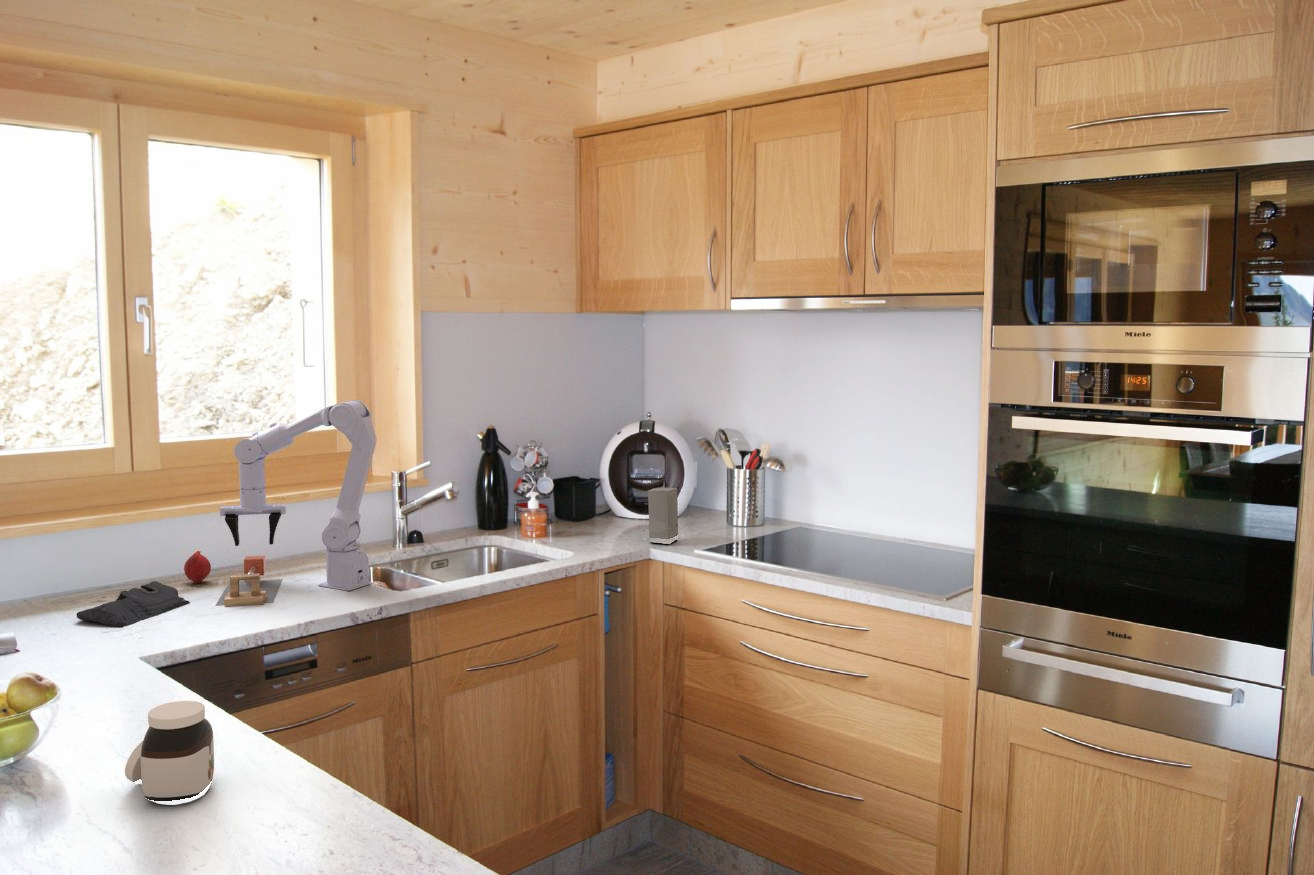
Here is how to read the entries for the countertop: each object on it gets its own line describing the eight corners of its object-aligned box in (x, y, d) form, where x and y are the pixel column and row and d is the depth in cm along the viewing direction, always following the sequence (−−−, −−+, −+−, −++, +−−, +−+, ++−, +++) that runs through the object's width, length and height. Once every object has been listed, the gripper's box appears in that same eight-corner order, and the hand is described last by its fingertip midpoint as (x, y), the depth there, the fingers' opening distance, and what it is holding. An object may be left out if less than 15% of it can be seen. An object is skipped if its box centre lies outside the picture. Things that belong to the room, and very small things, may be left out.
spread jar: (195, 811, 134) (192, 723, 133) (104, 813, 133) (100, 725, 132) (226, 771, 146) (224, 690, 145) (143, 773, 145) (139, 692, 144)
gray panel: (273, 603, 232) (273, 602, 232) (215, 606, 229) (215, 605, 229) (282, 579, 253) (282, 578, 253) (229, 582, 250) (229, 581, 250)
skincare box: (669, 546, 297) (670, 491, 296) (646, 543, 300) (646, 489, 298) (679, 540, 305) (680, 487, 304) (656, 538, 308) (657, 485, 306)
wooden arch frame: (263, 604, 230) (262, 577, 230) (224, 606, 228) (223, 579, 228) (266, 597, 236) (265, 571, 235) (228, 599, 234) (227, 573, 233)
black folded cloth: (62, 624, 215) (61, 602, 215) (140, 598, 236) (139, 577, 236) (125, 631, 212) (124, 608, 211) (198, 603, 233) (197, 583, 232)
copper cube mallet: (257, 588, 236) (257, 571, 235) (236, 589, 235) (236, 572, 234) (265, 571, 251) (265, 555, 251) (246, 572, 250) (245, 556, 250)
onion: (201, 587, 245) (199, 553, 244) (179, 585, 246) (178, 552, 245) (216, 581, 251) (215, 548, 250) (194, 579, 252) (193, 547, 251)
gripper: (217, 491, 241) (219, 549, 243) (283, 489, 245) (285, 546, 247) (221, 487, 248) (223, 543, 250) (286, 485, 252) (287, 540, 253)
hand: (254, 544), depth 249 cm, fingers open, 7 cm apart
